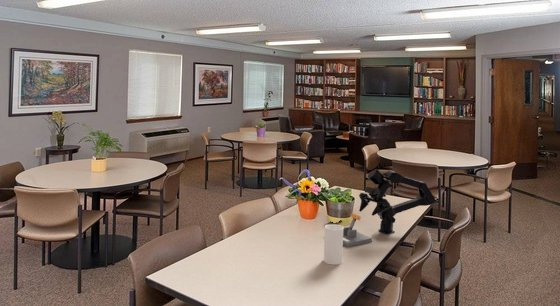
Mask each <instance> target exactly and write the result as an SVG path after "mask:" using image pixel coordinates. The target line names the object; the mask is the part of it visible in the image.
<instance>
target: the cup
mask: <svg viewBox="0 0 560 306" xmlns="http://www.w3.org/2000/svg"><path fill="white" fill-rule="evenodd" d="M343 227H344V226H343V225H341V224H338V223H331V224H325V226H324V241H323V242H324V244H323V262H324V263H325V264H328V265H332V264H333V265H334V266H336V265H341V264H342V263H343V252H344V251H343V246H344V245H343Z"/></svg>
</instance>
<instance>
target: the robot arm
mask: <svg viewBox="0 0 560 306" xmlns="http://www.w3.org/2000/svg"><path fill="white" fill-rule="evenodd" d="M366 177H367V179H368V180H369V181H370V182H371V183H372V184H374V185H377V187H376V186H375V187H371V186H370V187H369V186H366V187H365V189H364V190H365V191H364V192H360V193H359V194H358V196H359V199H360V206H359V212H362V211H363V210H365V208H366V207H367V206H369V203H370V202H373V203H376V206H375V207H374V209H373V210H372V213H371V216H373V217H374V216H375V215H377V216H379V219H380V220H381V221H380V226H379V227H380V229H378V232H380V233H384V234H386V235H387V234H388V235H389V234H392V233H395V230H394V229H393V228H394V224H395V222H396V217H395V216H396V215H397V214H400V213H402V212H403V213H404V212H405V211H408V210H411V209H414V208H416V207H422V206H423V207H424V206H425V207H427V206H433V205H434V204H435V201H436V197H435V195H433V193H432V191H431V190H430V188H429V187H428V185H427V183H426V182H424V181H422V180H421V181H420V180H417V179H413V178H409V177H407V176H404V175H402V174H400V173H398V172H396V171H393V170H388V171H387V172H384V173H382V172H380V171H379V169H377V168H375V169H374V170H372V171H371V172H368V175H367V176H366ZM394 184H404V185H407V186H410V187H413V188H417V191H418V195H417V196H416V197H415V198H413V199H412V198H411V199H409V200H406V201H403V202H400V203H398V204H394V205H391V203H390V202H389V201H388V199H387V198H386V197H387V195H386V194H387V192H388V190H389V189H394Z"/></svg>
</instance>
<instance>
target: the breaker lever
mask: <svg viewBox="0 0 560 306" xmlns="http://www.w3.org/2000/svg"><path fill="white" fill-rule="evenodd" d="M350 218H352V220H351V222H350V225H349V226H348V227H349V229H348V231H349V230H353V228H354V226H355V224H356V221H359V222H360V221H361V216H360V215H358V214H355V213H351V215H350ZM348 231H347V232H348Z"/></svg>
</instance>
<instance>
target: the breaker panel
mask: <svg viewBox="0 0 560 306" xmlns="http://www.w3.org/2000/svg"><path fill="white" fill-rule="evenodd" d="M348 229H349V226H343V246H345V247H347V248H350V247H356V246H359V245H363V244H369V243H371V242H373V238H372V237H371V236H368V235H366V234H363V233H361V232H358V230H357V229H352V230H349V231H348ZM347 231H348V232H347Z"/></svg>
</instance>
